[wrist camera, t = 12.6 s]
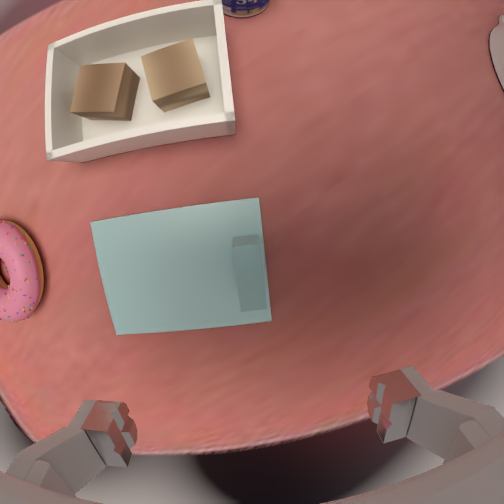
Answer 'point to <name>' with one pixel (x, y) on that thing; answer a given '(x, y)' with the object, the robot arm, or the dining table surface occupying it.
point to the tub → (145, 110)
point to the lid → (184, 267)
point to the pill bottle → (243, 7)
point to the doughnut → (19, 273)
